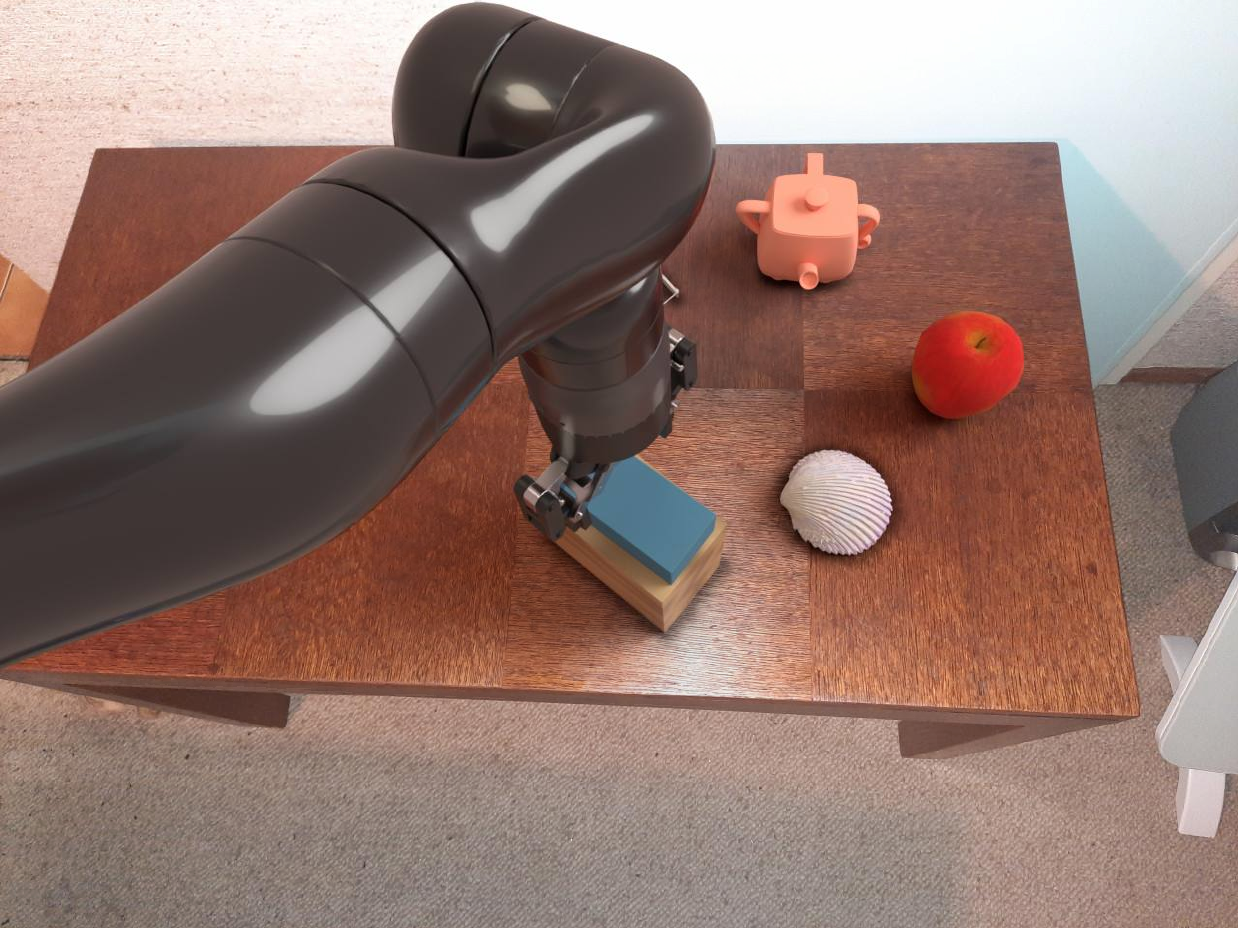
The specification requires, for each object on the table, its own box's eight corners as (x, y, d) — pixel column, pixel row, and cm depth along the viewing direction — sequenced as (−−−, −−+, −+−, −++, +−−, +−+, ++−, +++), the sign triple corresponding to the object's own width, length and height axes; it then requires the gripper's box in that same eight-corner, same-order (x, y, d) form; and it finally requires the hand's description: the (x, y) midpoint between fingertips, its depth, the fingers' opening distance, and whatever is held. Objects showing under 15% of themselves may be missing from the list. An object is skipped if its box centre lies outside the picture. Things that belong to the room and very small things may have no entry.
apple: (1005, 374, 84) (1056, 311, 72) (976, 452, 81) (1024, 400, 70) (913, 339, 86) (949, 273, 74) (882, 415, 83) (914, 358, 72)
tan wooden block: (664, 633, 77) (662, 603, 64) (549, 538, 81) (524, 492, 68) (719, 565, 79) (727, 523, 66) (604, 476, 83) (590, 419, 70)
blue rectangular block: (671, 585, 64) (671, 573, 61) (550, 494, 68) (542, 477, 64) (714, 529, 66) (716, 514, 62) (593, 442, 69) (588, 423, 65)
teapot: (798, 325, 87) (812, 273, 78) (725, 247, 91) (730, 188, 82) (884, 265, 89) (908, 207, 80) (809, 190, 92) (824, 127, 83)
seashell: (774, 440, 79) (886, 430, 77) (781, 461, 84) (886, 452, 82) (779, 546, 76) (898, 539, 73) (786, 561, 81) (897, 556, 78)
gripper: (560, 514, 41) (592, 585, 56) (740, 309, 44) (724, 429, 60) (449, 424, 43) (509, 516, 58) (629, 235, 46) (642, 369, 62)
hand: (618, 472), depth 59 cm, fingers open, 8 cm apart
